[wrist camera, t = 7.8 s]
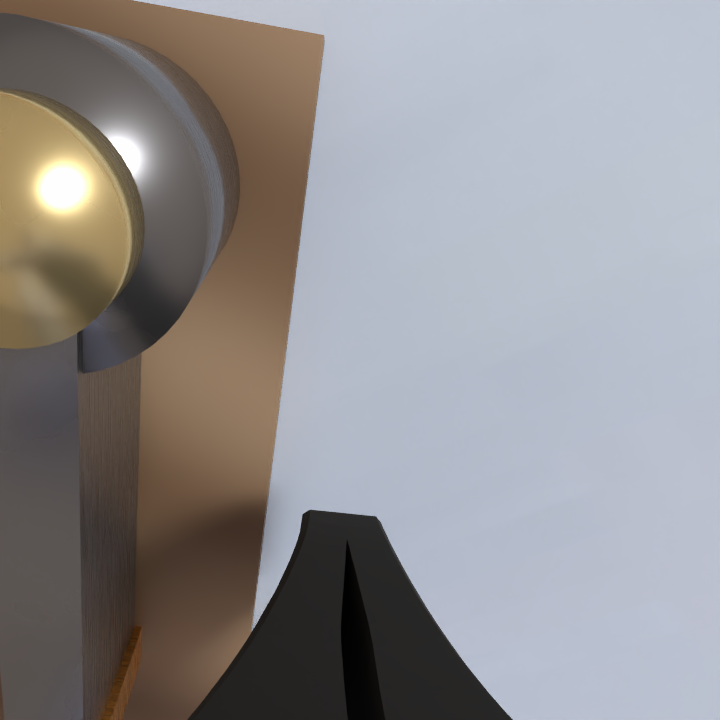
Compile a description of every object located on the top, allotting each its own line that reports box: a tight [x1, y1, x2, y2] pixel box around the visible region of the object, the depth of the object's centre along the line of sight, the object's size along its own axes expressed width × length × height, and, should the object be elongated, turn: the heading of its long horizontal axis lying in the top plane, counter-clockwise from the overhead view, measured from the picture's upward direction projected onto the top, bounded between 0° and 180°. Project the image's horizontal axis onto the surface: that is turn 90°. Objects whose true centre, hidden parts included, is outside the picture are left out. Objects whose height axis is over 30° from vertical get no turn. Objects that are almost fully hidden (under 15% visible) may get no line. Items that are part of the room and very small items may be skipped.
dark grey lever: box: [0, 13, 240, 720], centre depth 10 cm, size 12×4×4 cm, turn 171°
